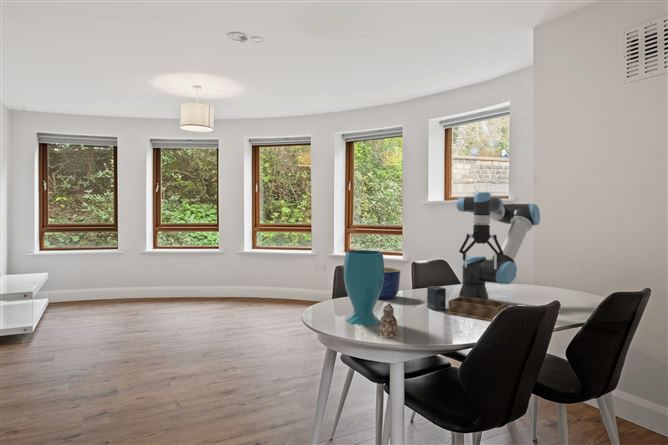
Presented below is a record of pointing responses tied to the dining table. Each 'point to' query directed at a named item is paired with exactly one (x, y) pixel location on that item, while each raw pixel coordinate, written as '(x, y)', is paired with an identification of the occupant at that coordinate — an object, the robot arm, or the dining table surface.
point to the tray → (475, 308)
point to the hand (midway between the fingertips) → (480, 268)
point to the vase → (363, 283)
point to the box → (436, 298)
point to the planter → (390, 283)
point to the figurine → (388, 323)
